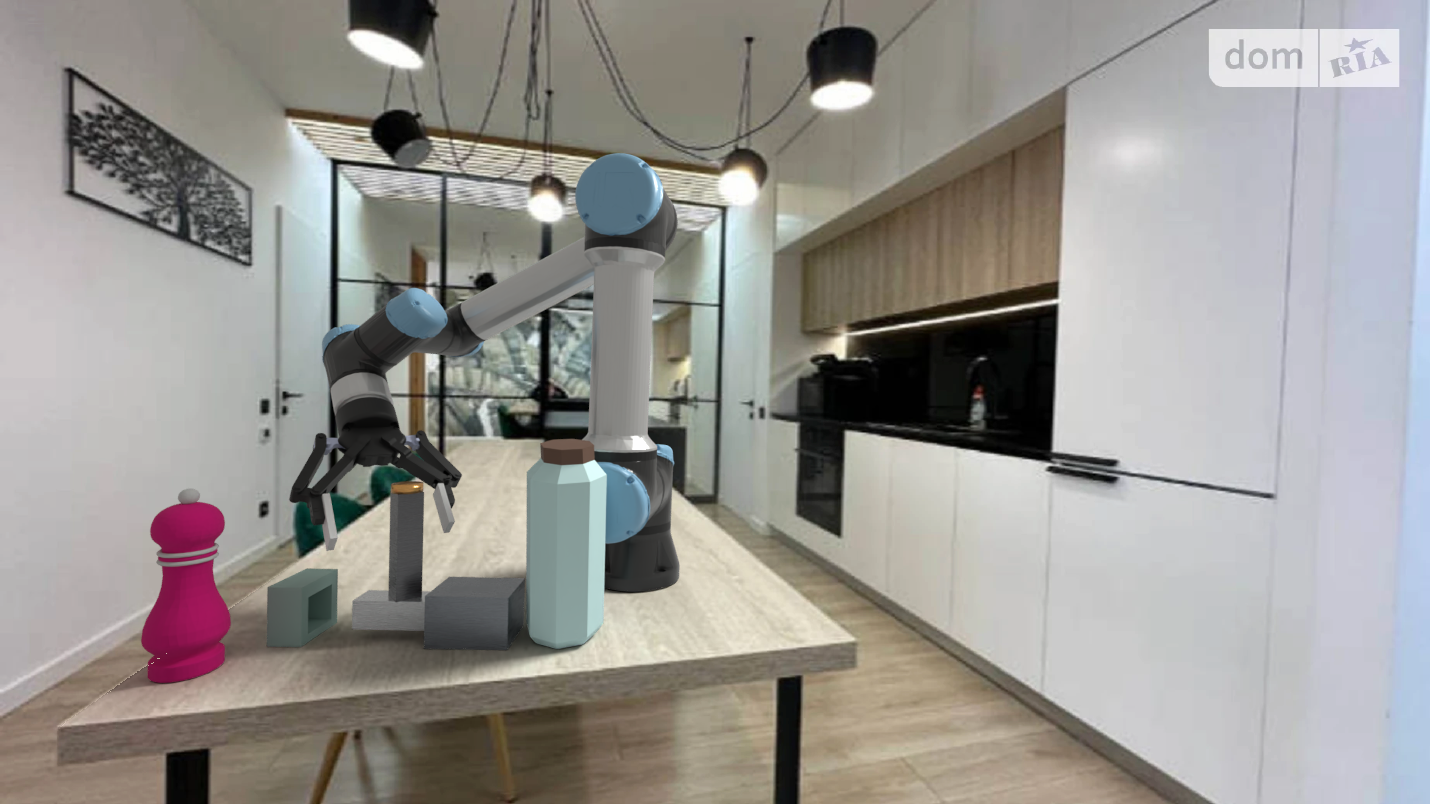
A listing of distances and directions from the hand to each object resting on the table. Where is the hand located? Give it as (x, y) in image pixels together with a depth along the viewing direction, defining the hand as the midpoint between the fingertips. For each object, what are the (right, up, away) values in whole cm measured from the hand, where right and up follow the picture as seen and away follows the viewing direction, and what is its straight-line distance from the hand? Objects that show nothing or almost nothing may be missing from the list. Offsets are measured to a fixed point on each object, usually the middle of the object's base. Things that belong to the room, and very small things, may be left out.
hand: (394, 535), depth 73 cm
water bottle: (+22, -13, +1) cm, 25 cm away
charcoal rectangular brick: (+11, -13, 0) cm, 17 cm away
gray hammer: (+5, -11, -1) cm, 12 cm away
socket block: (-11, -12, -1) cm, 16 cm away
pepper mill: (-17, -12, -11) cm, 23 cm away
